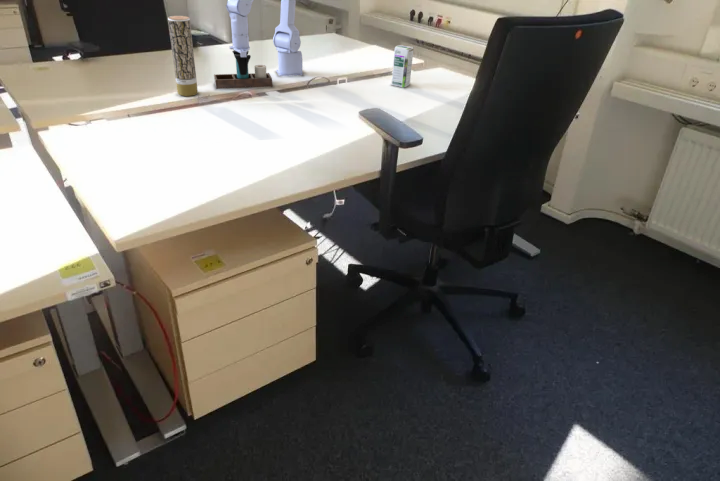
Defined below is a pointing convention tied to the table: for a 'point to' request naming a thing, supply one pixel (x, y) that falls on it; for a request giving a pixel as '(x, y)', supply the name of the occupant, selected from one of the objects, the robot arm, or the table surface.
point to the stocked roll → (260, 71)
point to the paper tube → (183, 55)
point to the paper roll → (240, 74)
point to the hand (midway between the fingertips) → (242, 72)
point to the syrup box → (402, 66)
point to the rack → (241, 81)
